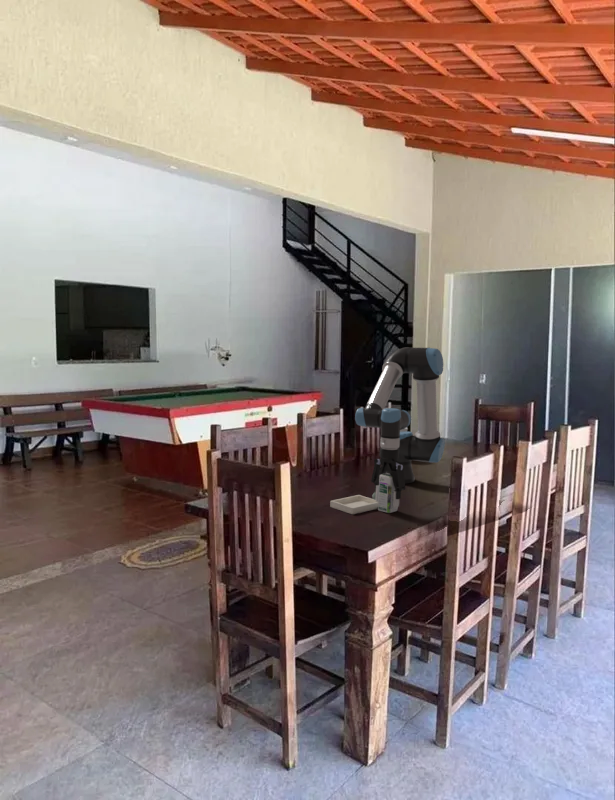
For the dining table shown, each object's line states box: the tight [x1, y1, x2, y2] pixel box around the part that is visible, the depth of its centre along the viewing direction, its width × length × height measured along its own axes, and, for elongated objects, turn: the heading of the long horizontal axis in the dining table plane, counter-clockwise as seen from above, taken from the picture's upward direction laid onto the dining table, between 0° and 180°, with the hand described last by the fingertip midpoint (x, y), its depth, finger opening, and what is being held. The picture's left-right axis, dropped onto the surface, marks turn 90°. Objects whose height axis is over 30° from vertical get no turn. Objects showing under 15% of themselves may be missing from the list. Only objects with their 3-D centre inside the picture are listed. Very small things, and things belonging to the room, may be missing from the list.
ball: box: [371, 491, 376, 500], centre depth 262 cm, size 4×4×4 cm
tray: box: [329, 494, 379, 515], centre depth 252 cm, size 16×13×2 cm
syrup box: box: [377, 473, 399, 514], centre depth 247 cm, size 6×6×14 cm
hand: (387, 503), depth 248 cm, fingers open, 9 cm apart
